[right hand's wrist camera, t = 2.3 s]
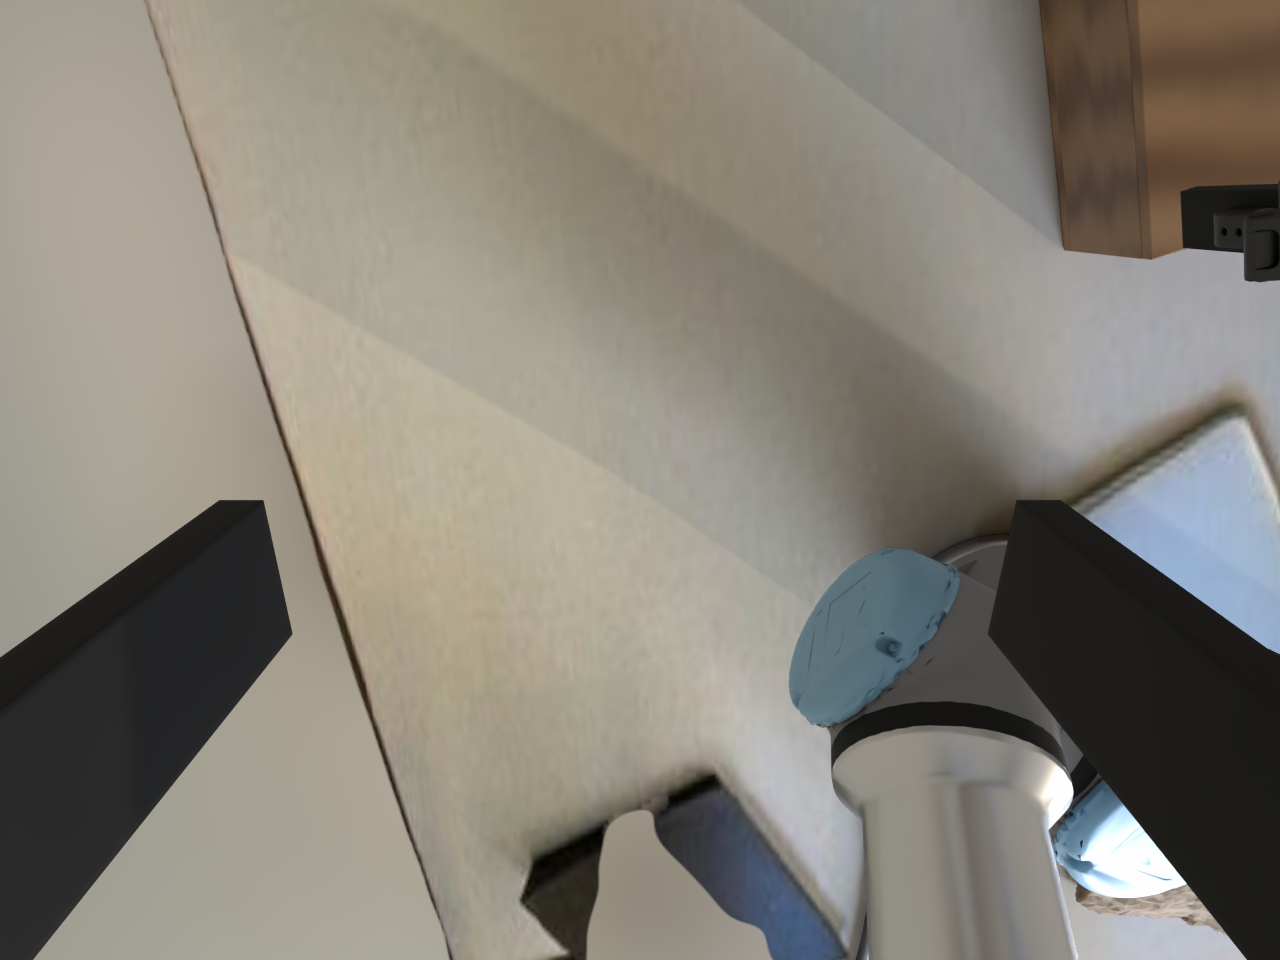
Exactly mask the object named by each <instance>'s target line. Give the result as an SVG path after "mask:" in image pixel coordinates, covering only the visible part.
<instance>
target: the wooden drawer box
mask: <svg viewBox="0 0 1280 960" xmlns="http://www.w3.org/2000/svg"><path fill="white" fill-rule="evenodd" d="M1039 1H1040V11H1041V21H1042V31H1043V41H1044V51H1045V61H1046V72H1047V82H1048V92H1049V102H1050V112H1051V122H1052V132H1053V142H1054V152H1055V162H1056V172H1057V182H1058V192H1059V202H1060V213H1061V223H1062V233H1063V243H1064V250H1067V251H1076V252H1085V253H1094V254H1103V255H1112V256H1121V257H1130V258H1139V259H1150V260H1153V259H1156V258H1159V257H1162V256H1166V255H1169V254H1172V253H1175V252H1178V251H1182V250H1185V249H1188V248H1183V240H1182V218H1181V197H1180V192H1181V191H1184V190H1187V189H1190V188H1193V187H1196V186H1221V185H1252V184H1278V181H1280V0H1039Z"/></svg>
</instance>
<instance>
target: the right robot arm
mask: <svg viewBox="0 0 1280 960" xmlns="http://www.w3.org/2000/svg"><path fill="white" fill-rule="evenodd" d="M291 635H292V629H291V625H290V620H289V616H288V611H287V607H286V602H285V597H284V593H283V588H282V584H281V579H280V574H279V570H278V565H277V561H276V556H275V551H274V547H273V542H272V538H271V533H270V529H269V524H268V520H267V515H266V510H265V506H264V501H263V500H219V501H218V502H216V503H215V504H214V505H212V506H211V507H209V508H208V509H207V510H205V511H204V512H202V513H201V514H200V515H198V516H197V517H195V518H194V519H193V520H191V521H190V522H188V523H187V524H186V525H184V526H183V527H182V528H180V529H179V530H177V531H176V532H174V533H173V534H172V535H170V536H169V537H168V538H166V539H165V540H163V541H162V542H161V543H159V544H158V545H156V546H155V547H154V548H152V549H151V550H149V551H148V552H147V553H145V554H144V555H142V556H141V557H140V558H138V559H137V560H135V561H134V562H133V563H131V564H130V565H129V566H127V567H126V568H124V569H123V570H122V571H120V572H119V573H117V574H116V575H115V576H113V577H112V578H110V579H109V580H108V581H106V582H105V583H103V584H102V585H101V586H99V587H98V588H96V589H95V590H94V591H92V592H91V593H90V594H88V595H87V596H85V597H84V598H83V599H81V600H80V601H78V602H77V603H76V604H74V605H73V606H71V607H70V608H69V609H67V610H66V611H64V612H63V613H62V614H60V615H59V616H57V617H56V618H55V619H53V620H52V621H50V622H49V623H48V624H46V625H45V626H43V627H42V628H41V629H39V630H38V631H37V632H35V633H34V634H32V635H31V636H30V637H28V638H27V639H25V640H24V641H23V642H21V643H20V644H18V645H17V646H16V647H14V648H13V649H11V650H10V651H9V652H7V653H6V654H5V655H3V656H2V657H0V960H33V959H34V958H35V957H36V955H37V954H38V953H39V951H40V950H41V949H42V948H43V946H44V945H45V944H46V943H47V941H48V940H49V939H50V938H51V936H52V935H53V934H54V933H55V931H56V930H57V929H58V928H59V926H60V925H61V924H62V923H63V921H64V920H65V919H66V918H67V916H68V915H69V914H70V913H71V911H72V910H73V909H74V908H75V906H76V905H77V904H78V903H79V901H80V900H81V899H82V898H83V896H84V895H85V894H86V893H87V891H88V890H89V889H90V887H91V886H92V885H93V884H94V882H95V881H96V880H97V879H98V877H99V876H100V875H101V874H102V872H103V871H104V870H105V869H106V867H107V866H108V865H109V864H110V862H111V861H112V860H113V859H114V857H115V856H116V855H117V854H118V852H119V851H120V850H121V849H122V847H123V846H124V845H125V844H126V842H127V841H128V840H129V839H130V837H131V836H132V835H133V834H134V832H135V831H136V830H137V829H138V827H139V826H140V825H141V824H142V822H143V821H144V820H145V819H146V817H147V816H148V815H149V814H150V812H151V811H152V810H153V808H154V807H155V806H156V805H157V803H158V802H159V801H160V800H161V798H162V797H163V796H164V795H165V793H166V792H167V791H168V790H169V788H170V787H171V786H172V785H173V783H174V782H175V781H176V780H177V778H178V777H179V776H180V775H181V773H182V772H183V771H184V770H185V768H186V767H187V766H188V765H189V763H190V762H191V761H192V760H193V758H194V757H195V756H196V755H197V753H198V752H199V751H200V750H201V748H202V747H203V746H204V745H205V743H206V742H207V741H208V739H209V738H210V737H211V736H212V734H213V733H214V732H215V731H216V730H217V728H218V727H219V726H220V725H221V723H222V722H223V721H224V719H225V718H226V717H227V716H228V714H229V713H230V712H231V711H232V709H233V708H234V707H235V706H236V704H237V703H238V702H239V701H240V699H241V698H242V697H243V696H244V694H245V693H246V692H247V691H248V689H249V688H250V687H251V686H252V684H253V683H254V682H255V681H256V679H257V678H258V677H259V676H260V674H261V673H262V672H263V671H264V669H265V668H266V667H267V666H268V664H269V663H270V662H271V661H272V659H273V658H274V657H275V655H276V654H277V653H278V652H279V651H280V649H281V648H282V647H283V645H284V644H285V643H286V642H287V640H288V639H289V638H290V637H291ZM988 635H989V637H990V638H991V639H992V640H993V642H994V643H995V644H996V645H997V647H998V648H999V649H1000V651H1001V652H1002V653H1003V654H1004V656H1005V657H1006V658H1007V659H1008V661H1009V662H1010V663H1011V664H1012V666H1013V667H1014V668H1015V669H1016V671H1017V672H1018V673H1019V674H1020V676H1021V677H1022V678H1023V679H1024V681H1025V682H1026V683H1027V684H1028V686H1029V687H1030V688H1031V689H1032V691H1033V692H1034V693H1035V694H1036V696H1037V697H1038V698H1039V699H1040V701H1041V702H1042V703H1043V704H1044V706H1045V707H1046V708H1047V709H1048V711H1049V712H1050V713H1051V714H1052V716H1053V717H1054V718H1055V719H1056V721H1057V722H1058V723H1059V725H1060V726H1061V727H1062V728H1063V730H1064V731H1065V732H1066V733H1067V735H1068V736H1069V737H1070V738H1071V740H1072V741H1073V742H1074V743H1075V745H1076V746H1077V747H1078V748H1079V750H1080V751H1081V752H1082V753H1083V755H1084V756H1085V757H1086V758H1087V760H1088V761H1089V762H1090V763H1091V765H1092V766H1093V767H1094V768H1095V770H1096V771H1097V772H1098V773H1099V775H1100V776H1101V777H1102V778H1103V780H1104V781H1105V782H1106V783H1107V785H1108V786H1109V787H1110V788H1111V790H1112V791H1113V792H1114V793H1115V795H1116V796H1117V797H1118V798H1119V800H1120V801H1121V802H1122V804H1123V805H1124V806H1125V807H1126V809H1127V810H1128V811H1129V812H1130V814H1131V815H1132V816H1133V817H1134V819H1135V820H1136V821H1137V822H1138V824H1139V825H1140V826H1141V827H1142V829H1143V830H1144V831H1145V832H1146V834H1147V835H1148V836H1149V837H1150V839H1151V840H1152V841H1153V842H1154V844H1155V845H1156V846H1157V847H1158V849H1159V850H1160V851H1161V852H1162V854H1163V855H1164V856H1165V857H1166V859H1167V860H1168V861H1169V862H1170V864H1171V865H1172V866H1173V867H1174V869H1175V870H1176V871H1177V872H1178V874H1179V875H1180V876H1181V877H1182V879H1183V880H1184V881H1185V883H1186V884H1187V885H1188V886H1189V888H1190V889H1191V890H1192V891H1193V893H1194V894H1195V895H1196V896H1197V898H1198V899H1199V900H1200V901H1201V903H1202V904H1203V905H1204V906H1205V908H1206V909H1207V910H1208V911H1209V913H1210V914H1211V915H1212V916H1213V918H1214V919H1215V920H1216V921H1217V923H1218V924H1219V925H1220V926H1221V928H1222V929H1223V930H1224V931H1225V933H1226V934H1227V935H1228V936H1229V938H1230V939H1231V940H1232V941H1233V943H1234V944H1235V945H1236V946H1237V948H1238V949H1239V950H1240V951H1241V953H1242V954H1243V955H1244V957H1245V958H1246V959H1247V960H1280V654H1278V653H1276V652H1274V651H1272V650H1270V649H1267V648H1266V647H1264V646H1263V645H1262V644H1260V643H1259V642H1257V641H1256V640H1255V639H1253V638H1252V637H1250V636H1249V635H1248V634H1246V633H1245V632H1243V631H1242V630H1241V629H1239V628H1238V627H1237V626H1235V625H1234V624H1232V623H1231V622H1230V621H1228V620H1227V619H1225V618H1224V617H1223V616H1221V615H1220V614H1218V613H1217V612H1216V611H1214V610H1213V609H1211V608H1210V607H1209V606H1207V605H1206V604H1204V603H1203V602H1202V601H1200V600H1199V599H1197V598H1196V597H1195V596H1193V595H1192V594H1191V593H1189V592H1188V591H1186V590H1185V589H1184V588H1182V587H1181V586H1179V585H1178V584H1177V583H1175V582H1174V581H1172V580H1171V579H1170V578H1168V577H1167V576H1165V575H1164V574H1163V573H1161V572H1160V571H1158V570H1157V569H1156V568H1154V567H1153V566H1152V565H1150V564H1149V563H1147V562H1146V561H1145V560H1143V559H1142V558H1140V557H1139V556H1138V555H1136V554H1135V553H1133V552H1132V551H1131V550H1129V549H1128V548H1126V547H1125V546H1124V545H1122V544H1121V543H1119V542H1118V541H1117V540H1115V539H1114V538H1112V537H1111V536H1110V535H1108V534H1107V533H1106V532H1104V531H1103V530H1101V529H1100V528H1099V527H1097V526H1096V525H1094V524H1093V523H1092V522H1090V521H1089V520H1087V519H1086V518H1085V517H1083V516H1082V515H1080V514H1079V513H1078V512H1076V511H1075V510H1073V509H1072V508H1071V507H1069V506H1068V505H1067V504H1065V503H1064V502H1062V501H1061V500H1017V501H1016V506H1015V510H1014V515H1013V519H1012V524H1011V528H1010V533H1009V538H1008V542H1007V547H1006V551H1005V556H1004V561H1003V565H1002V570H1001V574H1000V579H999V584H998V588H997V593H996V597H995V602H994V607H993V611H992V616H991V620H990V625H989V629H988Z"/></svg>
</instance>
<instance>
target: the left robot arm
mask: <svg viewBox="0 0 1280 960" xmlns="http://www.w3.org/2000/svg"><path fill="white" fill-rule="evenodd" d="M1180 197H1181V218H1182V240H1183V248H1190V249H1202V250H1214V251H1227V252H1239V253H1244V279H1245V280H1246V281H1249V282H1251V281H1256V282H1266V281H1274V280H1280V181H1278V184H1252V185H1221V186H1196V187H1193V188H1190V189H1187V190H1184V191H1181V192H1180ZM1008 538H1009V535H991V536H984V537H979V538H975V539H971V540H968V541H966V542H963V543H960V544H958V545H956V546H953V547H951V548H950V549H948V550H946V551H944V552H943V553H941V554H940V555H938V556H936V557H935V558H934V559H931V558H929V557H926V556H924V555H922V554H920V553H918V552H915V551H913V550H910V549H905V548H904V549H900V548H886V549H882V550H878V551H876V552H873V553H871V554H869V555H867V556H865V557H863V558H862V559H860V560H859V561H857V562H856V563H854V564H853V565H852V566H850V567H849V568H848V569H847V570H846V571H845V572H844V573H842V574H841V575H840V576H839V577H838V579H837V580H836V581H835V582H834V583H833V584H832V585H831V586H830V587H829V589H828V590H827V591H826V592H825V594H824V595H823V596H822V598H821V599H820V601H819V602H818V604H817V605H816V607H815V609H814V611H813V612H812V613H811V615H810V616H809V618H808V620H807V622H806V624H805V626H804V628H803V630H802V632H801V635H800V637H799V639H798V642H797V645H796V647H795V651H794V654H793V658H792V662H791V667H790V673H789V691H790V696H791V700H792V702H793V704H794V706H795V707H796V708H797V709H798V710H799V711H800V712H801V714H802V715H803V716H804V717H806V718H807V720H808V721H809V722H810V723H811V724H812V725H818V726H820V727H822V728H824V727H826V728H827V729H828V730H829V732H830V736H831V770H832V782H833V788H834V791H835V793H836V795H837V797H838V798H839V800H840V801H841V802H842V803H843V804H844V805H845V806H846V807H847V808H848V809H849V810H850V811H851V812H852V813H853V814H854V815H855V816H856V817H857V818H858V819H859V820H860V821H861V822H862V823H863V841H864V863H865V884H866V905H867V909H866V915H865V921H864V927H863V932H862V937H861V941H860V946H859V949H858V953H857V956H856V960H866V959H867V956H868V952H869V960H1079V958H1078V954H1077V950H1076V946H1075V941H1074V937H1073V933H1072V929H1071V924H1070V920H1069V916H1068V912H1067V907H1066V903H1065V899H1064V895H1063V890H1062V886H1061V882H1060V878H1059V874H1058V869H1057V865H1056V861H1057V862H1058V863H1059V864H1060V865H1062V866H1064V867H1065V868H1066V869H1067V871H1068V872H1069V873H1070V875H1071V876H1072V877H1073V878H1074V879H1075V880H1076V881H1077V882H1078V883H1079V884H1080V885H1082V886H1083V887H1085V888H1086V889H1088V890H1090V891H1093V892H1095V893H1098V894H1101V895H1105V896H1110V897H1118V898H1135V897H1143V896H1149V895H1155V894H1159V893H1161V892H1164V891H1167V890H1169V889H1174V888H1177V887H1180V886H1182V885H1185V884H1186V883H1185V881H1184V880H1183V879H1182V877H1181V876H1180V875H1179V874H1178V872H1177V871H1176V870H1175V869H1174V867H1173V866H1172V865H1171V864H1170V862H1169V861H1168V860H1167V859H1166V857H1165V856H1164V855H1163V854H1162V852H1161V851H1160V850H1159V849H1158V847H1157V846H1156V845H1155V844H1154V842H1153V841H1152V840H1151V839H1150V837H1149V836H1148V835H1147V834H1146V832H1145V831H1144V830H1143V829H1142V827H1141V826H1140V825H1139V824H1138V822H1137V821H1136V820H1135V819H1134V817H1133V816H1132V815H1131V814H1130V812H1129V811H1128V810H1127V809H1126V807H1125V806H1124V805H1123V804H1122V802H1121V801H1120V800H1119V798H1118V797H1117V796H1116V795H1115V793H1114V792H1113V791H1112V790H1111V788H1110V787H1109V786H1108V785H1107V783H1106V782H1105V781H1104V780H1103V778H1102V777H1101V776H1100V775H1099V773H1098V772H1097V771H1096V770H1095V768H1094V767H1093V766H1092V765H1091V763H1090V762H1089V761H1088V760H1087V758H1086V757H1085V756H1084V755H1083V753H1082V752H1081V751H1080V750H1079V748H1078V747H1077V746H1076V745H1075V743H1074V742H1073V741H1072V740H1071V738H1070V737H1069V736H1068V735H1067V733H1066V732H1065V731H1064V730H1063V728H1062V727H1061V726H1060V725H1059V723H1058V722H1057V721H1056V719H1055V718H1054V717H1053V716H1052V714H1051V713H1050V712H1049V711H1048V709H1047V708H1046V707H1045V706H1044V704H1043V703H1042V702H1041V701H1040V699H1039V698H1038V697H1037V696H1036V694H1035V693H1034V692H1033V691H1032V689H1031V688H1030V687H1029V686H1028V684H1027V683H1026V682H1025V681H1024V679H1023V678H1022V677H1021V676H1020V674H1019V673H1018V672H1017V671H1016V669H1015V668H1014V667H1013V666H1012V664H1011V663H1010V662H1009V661H1008V659H1007V658H1006V657H1005V656H1004V654H1003V653H1002V652H1001V651H1000V649H999V648H998V647H997V645H996V644H995V643H994V642H993V640H992V639H991V638H990V637H989V635H988V629H989V625H990V620H991V616H992V611H993V607H994V602H995V597H996V593H997V588H998V584H999V579H1000V574H1001V570H1002V565H1003V561H1004V556H1005V551H1006V547H1007V542H1008ZM1055 859H1056V861H1055Z"/></svg>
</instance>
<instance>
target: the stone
mask: <svg viewBox="0 0 1280 960" xmlns="http://www.w3.org/2000/svg"><path fill="white" fill-rule="evenodd" d="M1075 895H1076V901H1077V902H1078V903H1080V904H1081V905H1083V906H1085V907H1087V908H1088V909H1089V910H1091V911H1094V912H1096V913H1099V914H1104V915H1111V916H1121V915H1124V916H1126V915H1128V916H1147V917H1150V918H1153V919H1159V918H1163V917H1166V918H1181V919H1183V920H1184V921H1186V922H1187V923H1188V924H1189V925H1193V926H1199V925H1203V926H1209V927H1211V928H1212V929H1214V930H1215V931H1217V932H1220V933H1222V934H1225V935H1227V934H1226V933H1225V931H1224V930H1223V929H1222V928H1221V926H1220V925H1219V924H1218V923H1217V921H1216V920H1215V919H1214V918H1213V916H1212V915H1211V914H1210V913H1209V911H1208V910H1207V909H1206V908H1205V906H1204V905H1203V904H1202V903H1201V901H1200V900H1199V899H1198V898H1197V896H1196V895H1195V894H1194V893H1193V891H1192V890H1191V889H1190V888H1189V886H1188V885H1187V884H1185V885H1182V886H1180V887H1177V888H1174V889H1169V890H1167V891H1164V892H1161V893H1159V894H1155V895H1149V896H1143V897H1135V898H1118V897H1110V896H1105V895H1101V894H1098V893H1095V892H1093V891H1090V890H1088V889H1086V888H1085V887H1083V886H1082V885H1080V884H1079V883H1078V882H1077V887H1076V894H1075ZM1227 936H1228V935H1227Z"/></svg>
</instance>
